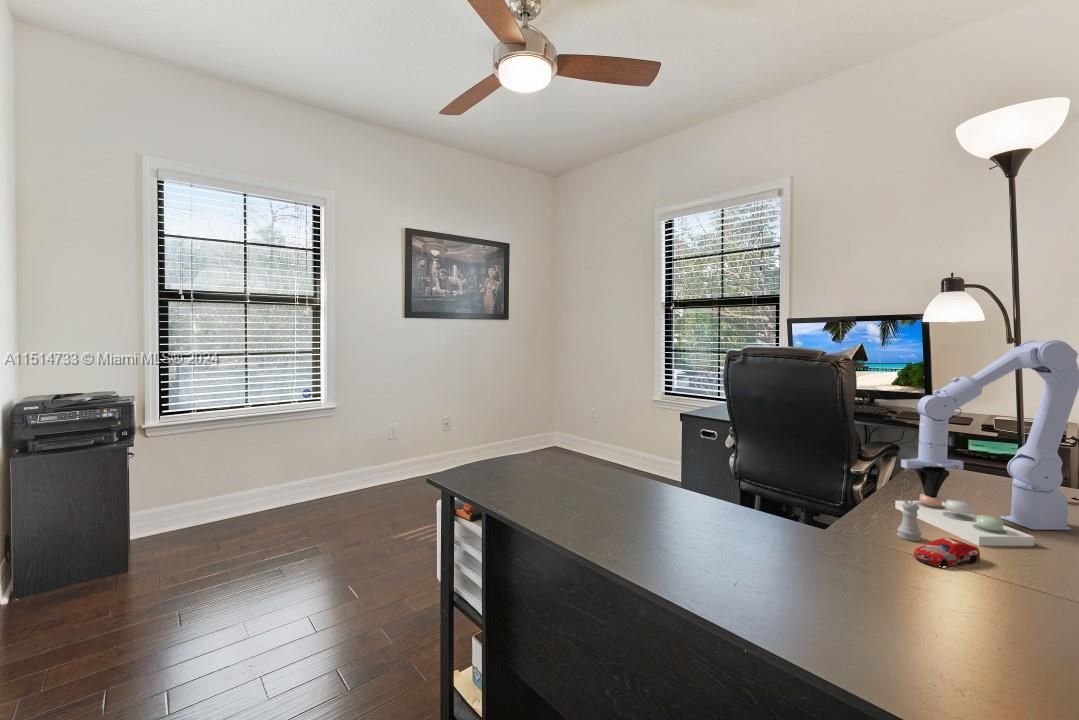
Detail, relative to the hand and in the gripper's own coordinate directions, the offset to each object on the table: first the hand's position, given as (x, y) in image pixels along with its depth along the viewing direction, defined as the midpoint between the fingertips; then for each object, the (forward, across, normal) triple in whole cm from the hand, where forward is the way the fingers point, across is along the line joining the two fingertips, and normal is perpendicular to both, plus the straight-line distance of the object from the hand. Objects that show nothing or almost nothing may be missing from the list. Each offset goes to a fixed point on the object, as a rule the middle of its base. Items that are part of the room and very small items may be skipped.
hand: (930, 496), depth 125 cm
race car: (+5, -19, -27) cm, 33 cm away
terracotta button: (+2, 0, 0) cm, 2 cm away
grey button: (+1, 0, -8) cm, 8 cm away
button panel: (+4, 0, -8) cm, 9 cm away
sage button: (+2, 0, -16) cm, 16 cm away
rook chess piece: (+5, -18, -16) cm, 24 cm away
